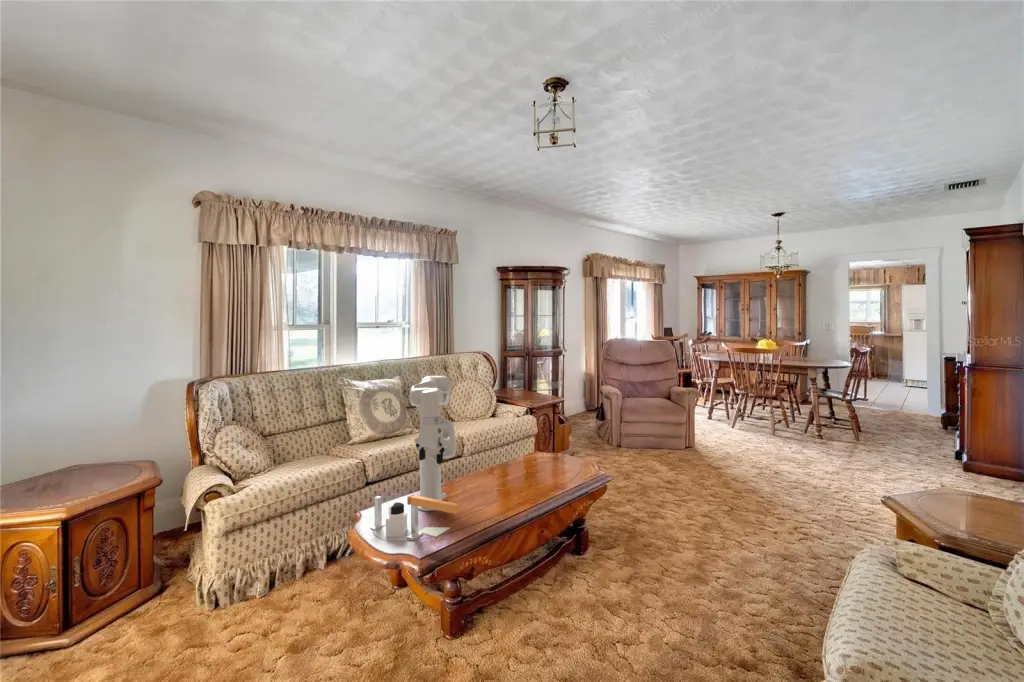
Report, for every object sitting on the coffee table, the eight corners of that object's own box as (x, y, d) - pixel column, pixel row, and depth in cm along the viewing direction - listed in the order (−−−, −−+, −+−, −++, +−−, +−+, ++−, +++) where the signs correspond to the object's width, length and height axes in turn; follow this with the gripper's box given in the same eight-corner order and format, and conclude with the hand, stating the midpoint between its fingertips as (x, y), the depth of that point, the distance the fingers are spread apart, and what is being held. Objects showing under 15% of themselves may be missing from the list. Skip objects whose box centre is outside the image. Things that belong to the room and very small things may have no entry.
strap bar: (412, 501, 187) (412, 494, 187) (459, 511, 176) (459, 503, 176) (407, 504, 184) (407, 496, 184) (454, 514, 173) (454, 506, 173)
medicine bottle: (407, 529, 192) (406, 500, 192) (403, 536, 185) (403, 506, 185) (390, 530, 192) (389, 501, 192) (385, 537, 185) (385, 507, 185)
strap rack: (380, 524, 198) (380, 494, 198) (422, 535, 186) (422, 502, 187) (370, 529, 193) (369, 498, 193) (412, 540, 181) (412, 507, 181)
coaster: (432, 524, 197) (432, 523, 197) (450, 529, 192) (450, 527, 192) (417, 533, 189) (417, 531, 189) (436, 537, 184) (436, 536, 184)
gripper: (452, 420, 191) (452, 462, 191) (421, 417, 200) (421, 456, 200) (440, 423, 184) (440, 466, 184) (408, 419, 193) (409, 460, 194)
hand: (430, 461), depth 192 cm, fingers open, 9 cm apart
